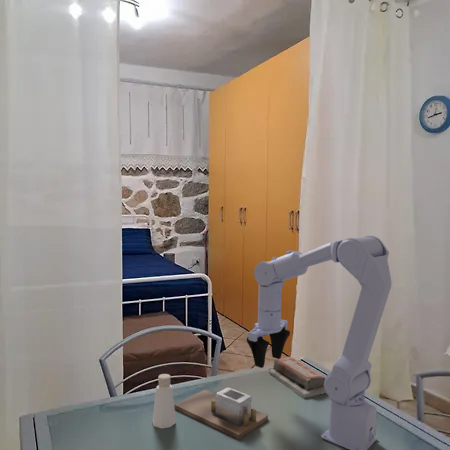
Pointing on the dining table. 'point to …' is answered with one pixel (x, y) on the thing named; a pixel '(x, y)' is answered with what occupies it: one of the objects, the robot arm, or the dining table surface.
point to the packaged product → (298, 377)
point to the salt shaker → (164, 403)
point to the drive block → (233, 404)
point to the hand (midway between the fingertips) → (268, 362)
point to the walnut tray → (206, 412)
